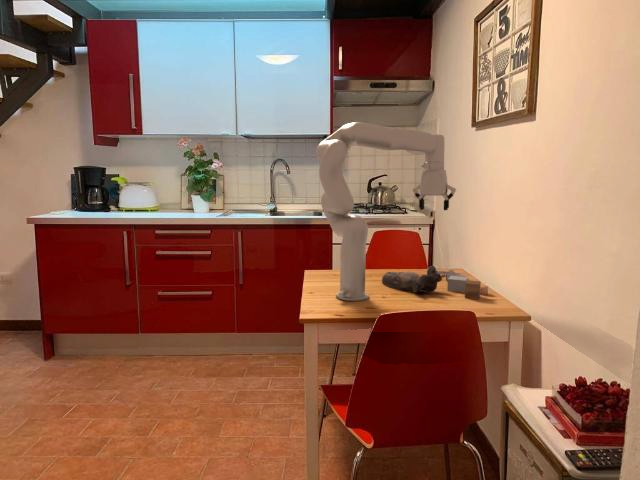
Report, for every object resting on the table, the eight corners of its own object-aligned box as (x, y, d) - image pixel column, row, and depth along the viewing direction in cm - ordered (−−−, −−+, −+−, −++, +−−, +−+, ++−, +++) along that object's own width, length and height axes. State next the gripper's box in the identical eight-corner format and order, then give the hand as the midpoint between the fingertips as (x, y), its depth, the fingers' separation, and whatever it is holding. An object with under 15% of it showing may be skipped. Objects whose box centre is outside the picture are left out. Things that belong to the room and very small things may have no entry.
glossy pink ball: (487, 295, 185) (487, 288, 185) (476, 294, 187) (476, 287, 186) (488, 293, 189) (488, 285, 188) (477, 292, 190) (478, 284, 190)
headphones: (441, 283, 201) (472, 284, 213) (443, 269, 201) (474, 272, 213) (412, 275, 216) (442, 277, 227) (414, 263, 215) (444, 265, 227)
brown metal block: (478, 299, 179) (479, 284, 178) (464, 298, 181) (465, 282, 180) (479, 296, 184) (480, 281, 183) (466, 295, 186) (467, 280, 185)
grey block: (465, 292, 190) (465, 280, 189) (447, 291, 193) (447, 278, 192) (467, 288, 196) (468, 277, 195) (450, 287, 199) (450, 275, 198)
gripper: (410, 167, 189) (409, 210, 192) (453, 166, 180) (452, 211, 183) (416, 167, 196) (416, 208, 198) (458, 166, 187) (457, 209, 189)
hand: (433, 209), depth 191 cm, fingers open, 9 cm apart
